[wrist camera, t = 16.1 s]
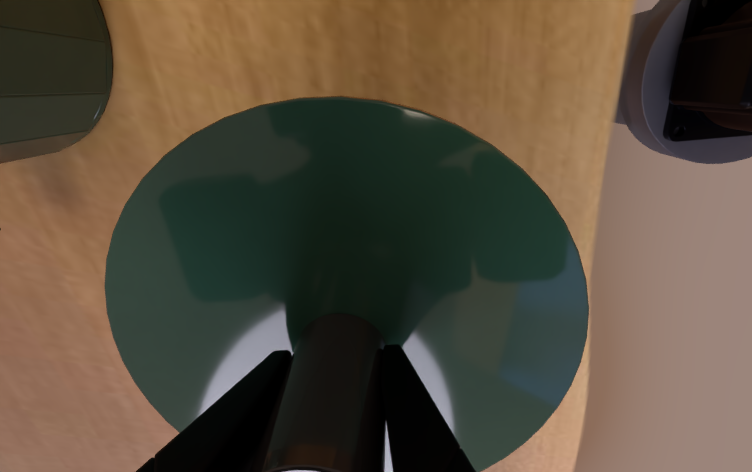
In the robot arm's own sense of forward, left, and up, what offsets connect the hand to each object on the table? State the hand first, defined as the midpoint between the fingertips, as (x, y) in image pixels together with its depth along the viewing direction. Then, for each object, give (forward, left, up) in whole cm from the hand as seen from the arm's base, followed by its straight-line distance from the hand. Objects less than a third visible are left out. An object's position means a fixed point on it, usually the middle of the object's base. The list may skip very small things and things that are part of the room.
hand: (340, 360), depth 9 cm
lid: (0, 0, -1) cm, 1 cm away
